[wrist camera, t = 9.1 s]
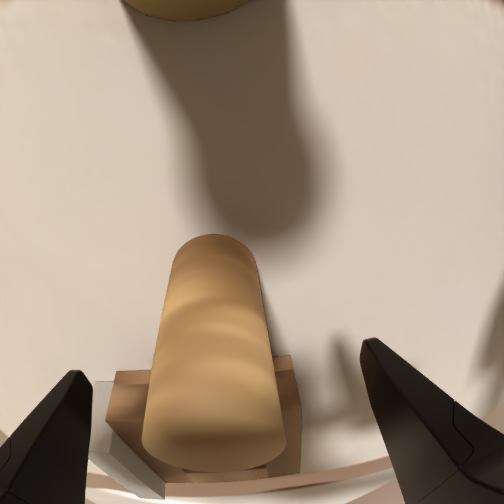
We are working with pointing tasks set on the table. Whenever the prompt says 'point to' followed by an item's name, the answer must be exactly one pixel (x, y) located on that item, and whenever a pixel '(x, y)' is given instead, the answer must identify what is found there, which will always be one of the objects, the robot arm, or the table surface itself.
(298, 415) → the socket block
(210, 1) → the cork
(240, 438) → the dowel
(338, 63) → the table surface
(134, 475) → the wall
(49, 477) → the robot arm
